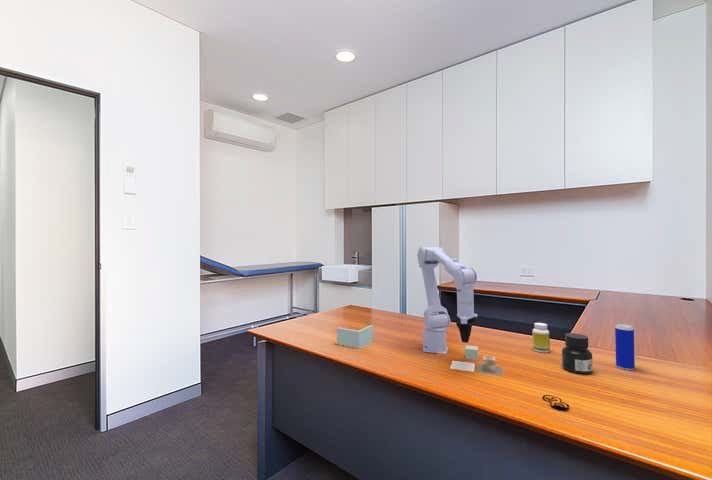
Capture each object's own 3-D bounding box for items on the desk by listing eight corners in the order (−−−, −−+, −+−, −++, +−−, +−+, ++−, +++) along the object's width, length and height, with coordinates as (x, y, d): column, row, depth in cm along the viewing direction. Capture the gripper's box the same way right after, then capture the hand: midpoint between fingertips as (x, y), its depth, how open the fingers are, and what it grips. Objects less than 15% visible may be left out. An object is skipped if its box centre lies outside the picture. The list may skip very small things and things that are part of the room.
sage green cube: (465, 360, 125) (465, 348, 125) (466, 356, 129) (466, 345, 129) (477, 361, 123) (477, 350, 123) (478, 357, 127) (478, 346, 127)
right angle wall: (373, 341, 150) (372, 325, 150) (359, 348, 140) (359, 331, 140) (351, 337, 157) (351, 322, 157) (337, 344, 147) (336, 327, 147)
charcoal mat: (476, 373, 112) (476, 372, 112) (477, 365, 120) (477, 363, 120) (501, 377, 109) (501, 375, 109) (501, 368, 116) (501, 366, 116)
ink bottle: (582, 377, 108) (582, 341, 108) (556, 368, 116) (555, 334, 116) (598, 371, 112) (597, 336, 112) (571, 363, 120) (571, 330, 120)
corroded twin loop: (556, 412, 87) (556, 408, 87) (538, 398, 95) (538, 394, 95) (574, 412, 87) (574, 408, 87) (554, 397, 95) (554, 394, 95)
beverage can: (630, 365, 117) (629, 324, 117) (637, 371, 112) (636, 328, 112) (613, 364, 118) (612, 323, 118) (619, 369, 113) (618, 327, 113)
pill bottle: (552, 353, 130) (551, 326, 130) (535, 352, 132) (535, 325, 132) (546, 348, 136) (546, 322, 137) (530, 347, 138) (530, 321, 138)
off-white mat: (450, 369, 116) (450, 368, 116) (452, 362, 123) (452, 360, 123) (473, 373, 113) (473, 371, 113) (475, 364, 120) (474, 363, 120)
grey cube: (483, 370, 113) (482, 359, 113) (483, 366, 117) (483, 355, 117) (495, 372, 112) (495, 360, 112) (495, 368, 115) (495, 356, 115)
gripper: (475, 306, 109) (476, 346, 109) (478, 298, 122) (478, 334, 122) (454, 304, 112) (455, 344, 112) (458, 297, 125) (459, 333, 125)
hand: (466, 339), depth 117 cm, fingers open, 7 cm apart
